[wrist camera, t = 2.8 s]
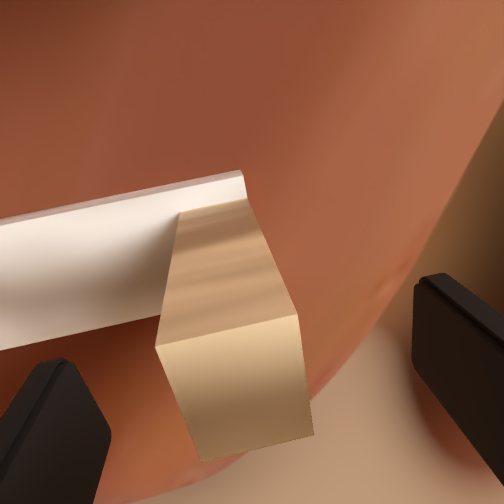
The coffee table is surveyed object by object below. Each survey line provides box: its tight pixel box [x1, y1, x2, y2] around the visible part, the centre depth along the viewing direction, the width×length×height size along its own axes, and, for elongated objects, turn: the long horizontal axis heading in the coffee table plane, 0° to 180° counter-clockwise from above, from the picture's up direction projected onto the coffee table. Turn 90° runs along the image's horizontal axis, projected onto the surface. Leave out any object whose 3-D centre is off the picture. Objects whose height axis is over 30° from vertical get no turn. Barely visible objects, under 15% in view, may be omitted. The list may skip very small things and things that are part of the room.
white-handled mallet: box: [0, 170, 314, 463], centre depth 12 cm, size 6×18×10 cm, turn 101°
